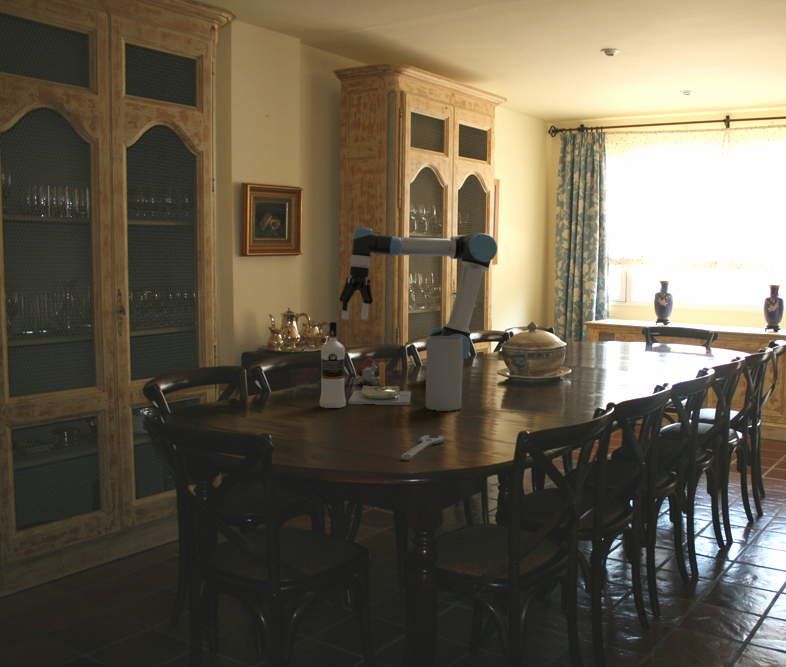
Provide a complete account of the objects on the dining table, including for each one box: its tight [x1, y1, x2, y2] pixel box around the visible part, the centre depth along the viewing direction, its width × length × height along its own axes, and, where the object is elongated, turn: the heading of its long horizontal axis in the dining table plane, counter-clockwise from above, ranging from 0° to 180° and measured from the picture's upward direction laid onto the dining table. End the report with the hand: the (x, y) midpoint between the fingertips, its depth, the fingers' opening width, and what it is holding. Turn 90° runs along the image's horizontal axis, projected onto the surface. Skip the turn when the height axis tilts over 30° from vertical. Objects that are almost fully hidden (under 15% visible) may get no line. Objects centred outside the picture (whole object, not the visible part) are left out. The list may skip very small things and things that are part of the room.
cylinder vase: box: [425, 335, 463, 412], centre depth 257 cm, size 12×12×25 cm
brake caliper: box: [355, 357, 379, 386], centre depth 306 cm, size 11×11×12 cm
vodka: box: [319, 321, 347, 409], centre depth 257 cm, size 9×9×30 cm
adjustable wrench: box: [401, 434, 445, 459], centre depth 201 cm, size 25×6×2 cm, turn 153°
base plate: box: [347, 389, 412, 406], centre depth 274 cm, size 22×22×1 cm
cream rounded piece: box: [361, 362, 401, 399], centre depth 273 cm, size 14×14×11 cm
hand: (354, 319), depth 295 cm, fingers open, 13 cm apart
